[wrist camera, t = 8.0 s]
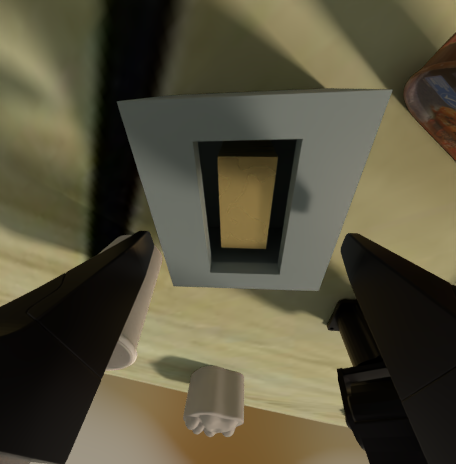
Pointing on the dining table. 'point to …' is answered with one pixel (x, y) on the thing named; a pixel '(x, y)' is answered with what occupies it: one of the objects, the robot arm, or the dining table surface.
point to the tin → (436, 96)
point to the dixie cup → (135, 314)
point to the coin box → (285, 187)
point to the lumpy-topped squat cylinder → (215, 401)
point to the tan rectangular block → (246, 192)
